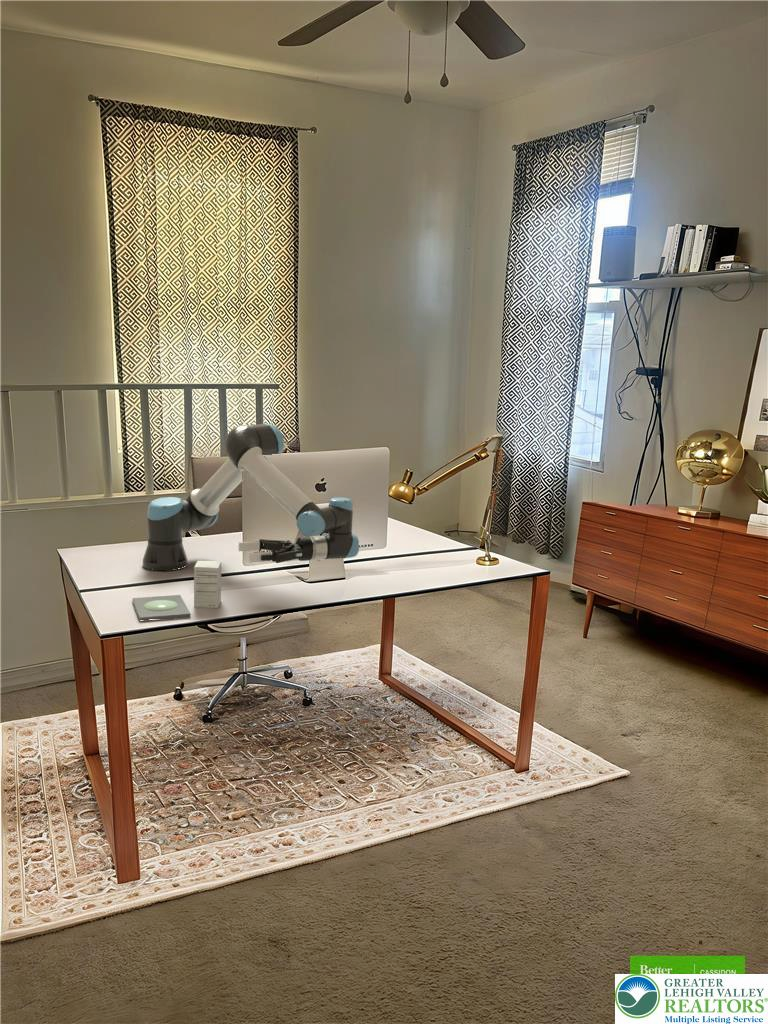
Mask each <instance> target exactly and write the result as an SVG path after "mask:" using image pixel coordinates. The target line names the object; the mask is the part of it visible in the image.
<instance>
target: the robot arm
mask: <svg viewBox="0 0 768 1024" xmlns="http://www.w3.org/2000/svg"><path fill="white" fill-rule="evenodd" d="M284 442H285V439H284V436H283V433H282V432H281V430H280V429H279V428H278V426H276V425H274V424H271V423H259V424H250V425H249V424H247V425H238V426H236V427H234V428H232V429H231V430H230V431H229V432H228V433H227V435H226V437H225V440H224V450H225V454H226V455H227V457H228V458H227V460H226V461H225V462H224V463H223V464H222V465H221V466H220V467H219V468H218V469H217V470H216V472H215V473H214V474H213V475H212V476H211V477H210V478H209V479H208V481H206V482H205V483H204V484H203V486H202V487H201V488H196V489H194V490H192V491H191V493H190V494H189V495H188V496H187V497H186V498H185V499H182V498H180V497H176V496H168V497H159V498H155V499H154V500H152V501H150V502H149V504H148V506H147V513H146V514H147V515H146V516H147V545H146V549H145V551H144V555H143V557H142V567H143V566H144V567H145V568H144V567H143V568H144V569H146V568H148V569H147V570H149V569H153V570H152V571H155V570H172V571H174V570H173V569H178V568H182V567H184V566H186V565H187V566H188V556H187V554H186V551H185V548H184V545H183V534H185V533H189V532H192V531H198V530H199V531H200V530H204V529H207V528H210V527H212V526H213V525H214V524H215V523H216V522H217V520H218V518H219V515H218V514H219V511H220V505H221V504H222V503H223V501H224V500H225V499H226V498H227V497H228V496H229V495H230V494H231V493H232V492H233V491H234V490H235V489H236V488H237V487H238V485H240V484H241V482H242V481H243V480H242V471H246V472H247V473H248V475H249V476H250V477H251V478H252V480H254V481H255V482H256V483H257V484H258V485H259V486H260V487H261V488H262V489H263V490H264V491H265V492H266V493H268V495H270V496H271V497H272V498H273V499H274V500H275V501H276V502H277V503H278V504H279V505H280V506H282V508H283V509H284V510H286V511H287V513H289V514H290V515H291V516H292V517H293V518H294V519H295V520H296V527H297V528H298V529H297V530H298V531H299V532H300V534H301V535H303V536H299V537H298V538H297V539H296V542H295V543H293V542H292V541H291V540H278V539H277V540H276V539H260V538H259V540H258V541H241V542H238V552H249V553H248V554H249V556H248V562H249V563H260V562H262V563H263V562H271V561H272V562H275V563H276V564H280V563H285V562H288V561H294V560H298V561H300V562H304V561H311V560H312V561H317V562H321V560H337V559H338V560H339V559H343V560H345V559H350V558H354V557H356V556H358V554H359V551H360V541H359V537H358V536H357V535H356V534H353V513H354V509H353V500H352V499H350V498H348V497H343V496H342V497H340V496H339V497H332V498H330V499H329V503H328V505H327V506H326V507H322V508H321V507H319V506H318V505H317V504H315V503H314V501H313V500H311V499H310V498H309V497H308V496H307V494H305V492H303V491H302V490H301V489H300V488H299V487H298V486H296V484H294V483H293V482H292V481H291V480H290V479H289V478H288V476H286V475H285V474H284V472H283V473H282V472H281V470H279V469H278V468H277V467H276V466H275V465H274V464H273V462H271V461H270V459H269V460H268V459H267V458H266V457H265V456H263V455H272V454H280V455H282V453H283V451H284V448H285V443H284ZM326 533H328V534H327V535H322V534H326ZM262 550H263V551H264V550H266V551H264V552H263V551H262ZM251 551H258V552H251ZM261 551H262V552H261ZM187 566H186V567H187ZM182 569H183V568H182Z"/></svg>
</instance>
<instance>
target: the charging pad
mask: <svg viewBox="0 0 768 1024" xmlns="http://www.w3.org/2000/svg"><path fill="white" fill-rule="evenodd" d="M132 604H133V608H134V610H135V609H136V610H135V612H137V613H136V614H137V615H136V616H137V618H138V617H139V618H138V621H139V620H149V619H167V620H179V619H188V618H189V619H190V618H191V612H190V609H188V608H189V607H187V605H186V603H185V601H184V599H183V597H182V595H181V594H173V595H161V596H160V595H159V596H158V595H157V596H143V597H132ZM175 618H176V619H175ZM177 618H178V619H177Z"/></svg>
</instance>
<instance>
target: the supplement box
mask: <svg viewBox="0 0 768 1024" xmlns="http://www.w3.org/2000/svg"><path fill="white" fill-rule="evenodd" d="M193 569H194V570H193V575H194V576H193V606H194V608H208V609H209V608H211V609H215V608H216V609H217V608H219V606H220V604H221V601H222V600H221V599H222V561H219V560H217V561H216V560H197V561H196V563H195V565H194V567H193Z"/></svg>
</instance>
